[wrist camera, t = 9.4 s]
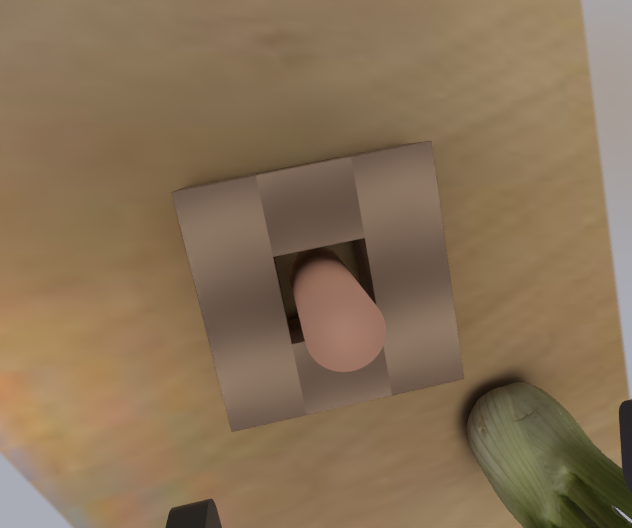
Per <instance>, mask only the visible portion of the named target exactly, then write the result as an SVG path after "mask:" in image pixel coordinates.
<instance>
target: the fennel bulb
mask: <svg viewBox="0 0 632 528" xmlns="http://www.w3.org/2000/svg"><path fill="white" fill-rule="evenodd" d="M467 434H468V440H469V443H470V446H471V449H472V452H473V454H474V456H475V457H476V460H477V462H478V463H479V465H480V467H481V469H482V470H483V472H484V474H485V475H486V477H487V479H488V481H489V482H490V484H491V485H492V487H493V489H494V490H495V492H496V493H497V495H498V496H499V498H500V500H501V501H502V503H503V504H504V505H505V506H506V508H507V509H508V510H509V512H510V513H511V514H512V515H513V516H514V518H515V519H516V520H517V521H518V522H519V523H520V524H521V525H522V526H523V528H632V523H630V522H629V521H628V520H627V519H626V518H625V517H623V516H622V515H621V514H620V513H619V512H618V511H617V510H616V508H618V509H619V510H621V511H622V512H623V513H624V514H626V515H627V516H628V517H629V518H630V519H632V494H631V492H630V491H629V489H628V487H627V484H626V482H625V479H624V475H623V470H622V468H620V467H619V466H618V465H616V464H615V463H614V462H613V461H612V460H610V459H609V458H607V457H606V456H605V455H604V454H603V453H602V452H601V450H599V449H598V448H597V447H596V446H595V445H594V444H593V443H592V441H591V440H590V439H589V438H588V436H587V435H586V434H585V432H584V431H583V430H582V429H581V427H580V426H579V424H578V423H577V422H576V420H575V419H574V418H573V417H572V416H571V414H570V413H569V412H568V411H567V410H566V409H565V408H564V407H563V406H562V405H561V404H560V403H559V402H557V401H556V400H555V399H554V398H553V397H552V396H551V395H549V394H547V393H546V392H545V391H543V390H542V389H540V388H538V387H536V386H533V385H530V384H528V383H524V382H517V383H512V384H509V385H507V386H504V387H498V388H495V389H493V390H491V391H489V392H487V393H486V394H484V396H482V397H480V398H479V399H478V400H477V402H476V404H475V405H474V407H473V409H472V410H471V413H470V415H469V418H468V422H467ZM615 507H616V508H615Z"/></svg>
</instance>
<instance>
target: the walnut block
mask: <svg viewBox="0 0 632 528" xmlns="http://www.w3.org/2000/svg"><path fill="white" fill-rule="evenodd" d="M172 196H173V200H174V204H175V208H176V212H177V216H178V220H179V224H180V228H181V232H182V236H183V240H184V244H185V248H186V252H187V256H188V260H189V264H190V268H191V272H192V276H193V280H194V284H195V288H196V292H197V296H198V300H199V304H200V308H201V312H202V316H203V320H204V324H205V328H206V332H207V336H208V340H209V344H210V348H211V352H212V356H213V360H214V364H215V368H216V372H217V376H218V380H219V384H220V388H221V392H222V396H223V400H224V404H225V408H226V412H227V416H228V420H229V424H230V428H231V432H234V431H239V430H243V429H247V428H252V427H256V426H260V425H265V424H269V423H274V422H278V421H282V420H287V419H291V418H295V417H300V416H304V415H309V414H313V413H317V412H322V411H326V410H330V409H335V408H339V407H344V406H348V405H352V404H357V403H361V402H365V401H370V400H374V399H379V398H383V397H387V396H392V395H396V394H400V393H405V392H409V391H414V390H418V389H422V388H427V387H431V386H435V385H440V384H444V383H449V382H453V381H457V380H462V379H464V374H463V366H462V359H461V352H460V345H459V337H458V330H457V323H456V316H455V308H454V301H453V294H452V287H451V279H450V272H449V265H448V258H447V250H446V243H445V236H444V229H443V221H442V214H441V207H440V200H439V192H438V185H437V178H436V171H435V163H434V156H433V149H432V142H431V141H427V142H418V143H409V144H403V145H398V146H393V147H388V148H383V149H378V150H373V151H368V152H363V153H358V154H353V155H347V156H342V157H337V158H332V159H327V160H322V161H317V162H312V163H307V164H302V165H297V166H292V167H287V168H281V169H276V170H271V171H266V172H261V173H256V174H251V175H246V176H241V177H236V178H231V179H226V180H221V181H215V182H210V183H205V184H200V185H195V186H190V187H185V188H182V189H179V190H176V191H173V192H172ZM352 240H353V244H354V250H355V255H356V261H357V267H358V272H359V278H360V284H361V287H362V288H363V289H364V291H365V292H366V293H367V294H368V296H369V297H370V298H371V299H372V301H373V302H374V303H375V305H376V306H377V307H378V308H379V310H380V311H381V313H382V315H383V317H384V320H385V324H386V337H385V342H384V345H383V347H382V349H381V351H380V353H379V354H378V355H377V357H376V358H375V359H374V360H373V361H372V362H370V363H369V364H368V365H366V366H364V367H363V368H360V369H358V370H355V371H350V372H336V371H332V370H329V369H326V368H325V367H323V366H321V365H320V364H318V363H317V362H316V361H315V360H314V359H313V358H312V356H311V355H310V353H309V352H308V349H307V347H306V343H305V339H304V335H303V331H302V327H301V323H300V319H299V317H297V318H292V319H287V314H286V310H285V305H284V300H283V296H282V291H281V286H280V281H279V277H278V272H277V267H276V263H275V258H274V257H275V256H280V255H285V254H290V253H294V252H299V251H304V250H309V249H314V248H318V247H323V246H328V245H333V244H338V243H343V242H347V241H352Z"/></svg>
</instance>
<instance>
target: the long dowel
mask: <svg viewBox="0 0 632 528" xmlns="http://www.w3.org/2000/svg"><path fill="white" fill-rule="evenodd" d="M289 276H290V282H291V286H292V290H293V294H294V298H295V302H296V306H297V311H298V315H299V319H300V323H301V327H302V331H303V335H304V339H305V343H306V347H307V349H308V352H309V353H310V355H311V356H312V358H313V359H314V360H315V361H316V362H317V363H318V364H320V365H321V366H323V367H325V368H326V369H329V370H332V371H336V372H350V371H355V370H358V369H360V368H363V367H364V366H366V365H368V364H369V363H370V362H372V361H373V360H374V359H375V358H376V357H377V355H378V354H379V353H380V351H381V349H382V347H383V345H384V342H385V337H386V324H385V320H384V317H383V315H382V313H381V311H380V310H379V308H378V307H377V306H376V305H375V303H374V302H373V301H372V299H371V298H370V297H369V296H368V294H367V293H366V292H365V291H364V289H363V288H362V287H361V286H360V284H359V283H358V282H357V281H356V279H355V278H354V277H353V276H352V274H351V273H350V272H349V271H348V269H347V268H346V267H345V266H344V264H343V263H342V262H341V261H340V259H339V258H338V257H337V256H336V255H335V254H334V253H333V252H332V251H330V250H328V249H325V248H320V247H318V248H314V249H309V250H304V251H302V252H301V253H300V254H298V255H297V256H296V258H295V259H294V260H293V262H292V264H291V267H290V273H289Z"/></svg>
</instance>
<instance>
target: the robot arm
mask: <svg viewBox="0 0 632 528" xmlns="http://www.w3.org/2000/svg"><path fill="white" fill-rule="evenodd" d="M619 423H620V438H621V454H622V470H623V475H624V479H625V482H626V484H627V487H628V489H629V491H630V492H631V494H632V399H631V400H627V401H624V402H622V404H621V405H620V408H619ZM166 528H222V526H221V523H220V519H219V515H218V512H217V508H216V505H215V503H214V501H213V499H208V500H203V501H199V502H195V503H191V504H187V505H182V506H178V507H174V508H172V509H171V510H170V512H169V516H168V520H167V524H166Z"/></svg>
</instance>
